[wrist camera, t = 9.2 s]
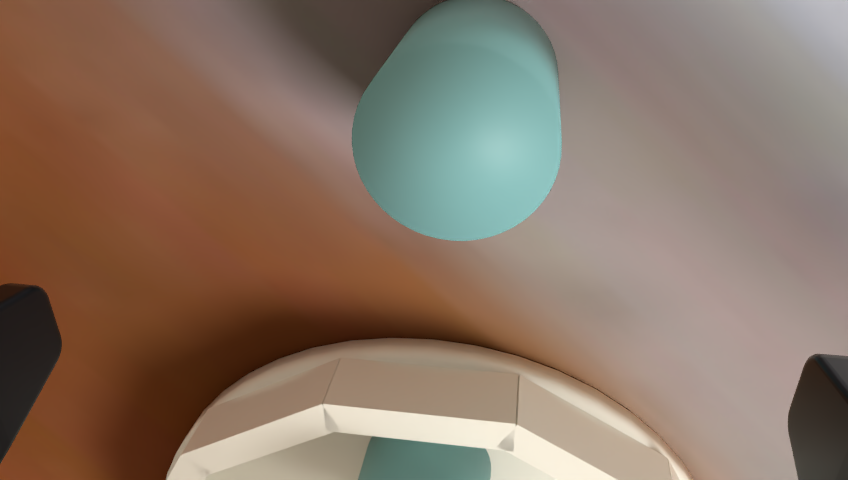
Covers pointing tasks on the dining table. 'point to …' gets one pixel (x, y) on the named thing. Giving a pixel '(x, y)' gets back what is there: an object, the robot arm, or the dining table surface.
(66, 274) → the dining table surface
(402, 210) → the bead
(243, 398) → the groove tray
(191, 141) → the dining table surface
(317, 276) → the dining table surface
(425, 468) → the bead
